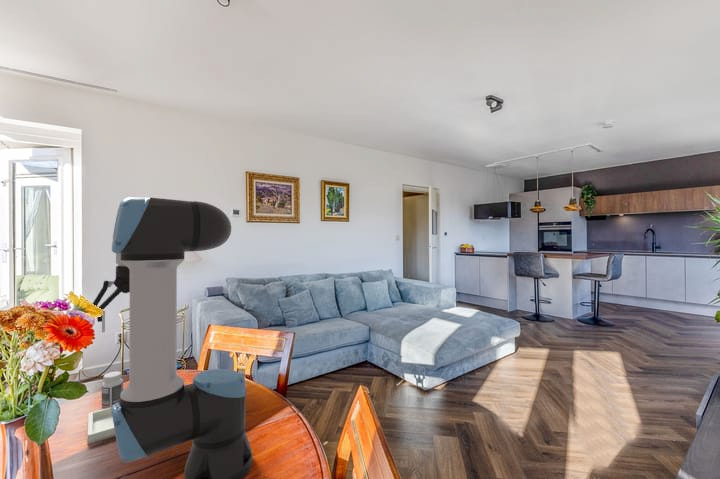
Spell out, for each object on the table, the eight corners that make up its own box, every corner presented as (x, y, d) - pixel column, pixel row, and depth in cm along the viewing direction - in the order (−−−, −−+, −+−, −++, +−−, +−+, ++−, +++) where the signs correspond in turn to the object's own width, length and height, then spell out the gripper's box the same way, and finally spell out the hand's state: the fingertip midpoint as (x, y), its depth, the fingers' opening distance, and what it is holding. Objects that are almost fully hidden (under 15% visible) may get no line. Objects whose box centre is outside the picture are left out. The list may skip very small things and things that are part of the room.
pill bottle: (123, 397, 111) (123, 369, 111) (122, 405, 106) (122, 375, 106) (102, 402, 108) (102, 372, 108) (100, 410, 103) (100, 379, 103)
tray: (149, 425, 95) (149, 417, 95) (87, 444, 86) (87, 435, 86) (144, 406, 106) (144, 398, 106) (88, 420, 97) (88, 412, 97)
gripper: (170, 262, 118) (170, 319, 119) (81, 265, 102) (80, 331, 103) (174, 264, 112) (173, 324, 113) (79, 267, 97) (79, 337, 97)
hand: (129, 327), depth 108 cm, fingers open, 13 cm apart
